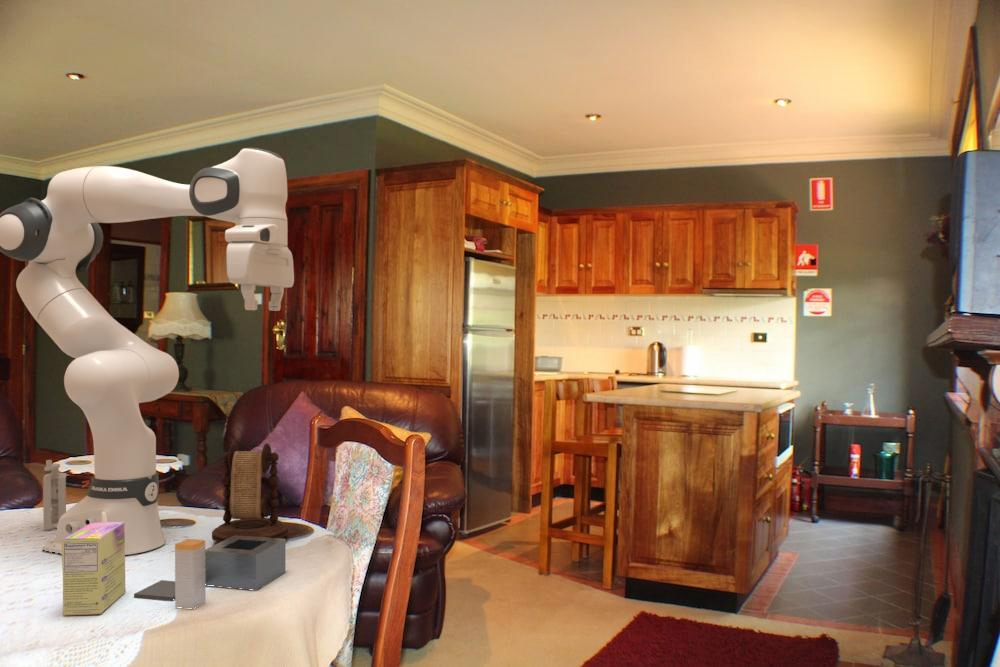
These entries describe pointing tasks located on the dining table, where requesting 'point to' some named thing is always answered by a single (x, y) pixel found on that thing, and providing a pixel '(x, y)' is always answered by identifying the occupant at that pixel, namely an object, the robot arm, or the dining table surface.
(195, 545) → the orange tipped grey block
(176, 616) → the dining table surface
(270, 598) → the dining table surface
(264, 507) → the scroll
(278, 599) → the dining table surface
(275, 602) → the dining table surface
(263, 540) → the square frame
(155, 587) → the mat
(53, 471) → the white pump bottle
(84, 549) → the box
